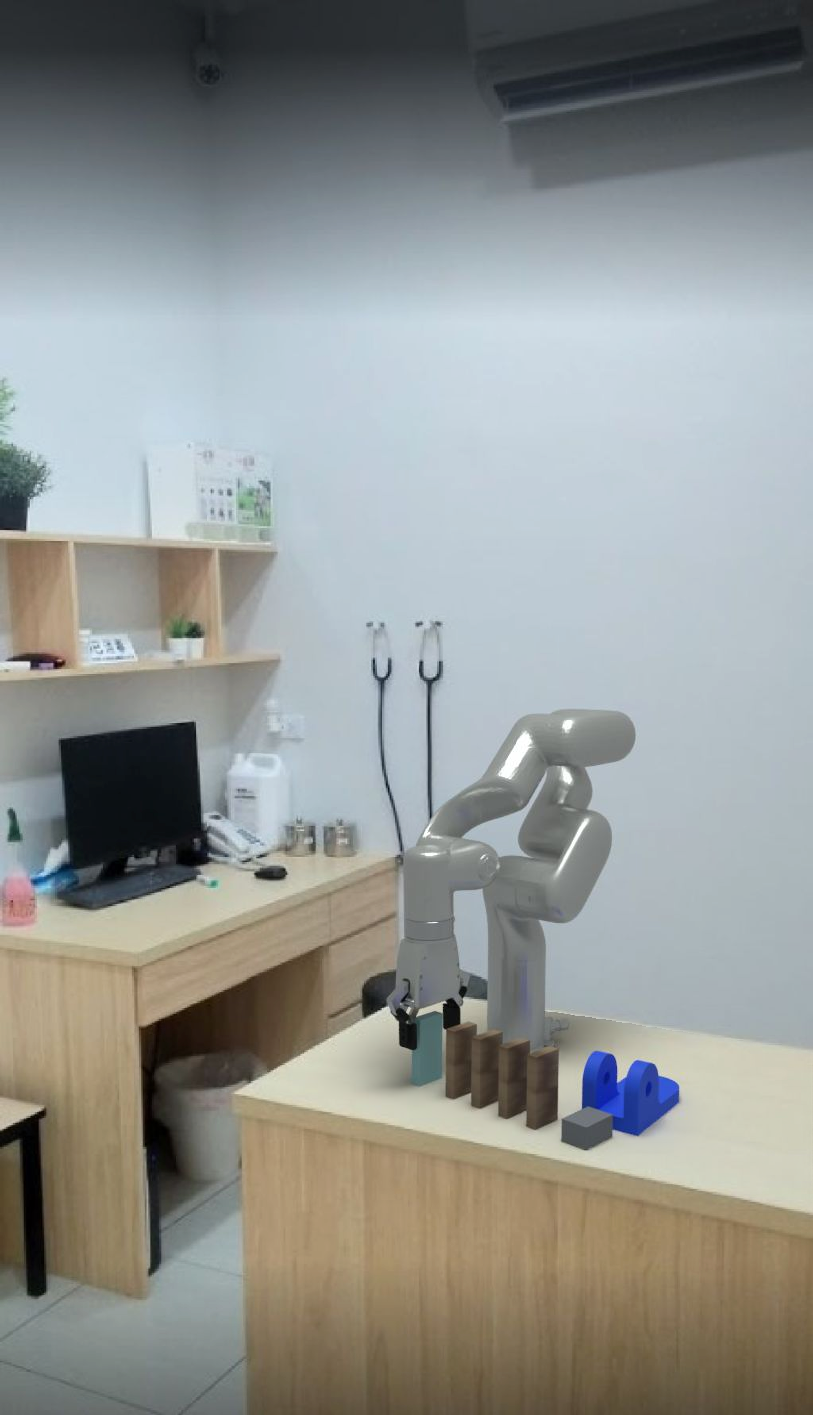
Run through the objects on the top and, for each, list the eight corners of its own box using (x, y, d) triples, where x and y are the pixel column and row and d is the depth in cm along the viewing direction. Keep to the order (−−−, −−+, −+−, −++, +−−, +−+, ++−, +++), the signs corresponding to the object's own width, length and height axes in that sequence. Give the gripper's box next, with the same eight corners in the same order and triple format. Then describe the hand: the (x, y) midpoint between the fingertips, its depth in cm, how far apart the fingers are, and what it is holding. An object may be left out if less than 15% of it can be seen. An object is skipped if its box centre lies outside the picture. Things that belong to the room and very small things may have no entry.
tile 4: (520, 1106, 164) (521, 1037, 163) (529, 1109, 162) (530, 1039, 162) (498, 1115, 160) (498, 1045, 160) (506, 1119, 159) (507, 1048, 158)
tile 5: (548, 1116, 160) (549, 1045, 160) (557, 1119, 159) (558, 1048, 158) (526, 1126, 156) (527, 1054, 156) (535, 1129, 155) (536, 1057, 155)
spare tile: (434, 1075, 175) (434, 1010, 175) (441, 1077, 174) (442, 1013, 174) (411, 1083, 172) (412, 1017, 171) (419, 1086, 171) (420, 1020, 170)
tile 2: (468, 1087, 170) (468, 1021, 170) (476, 1090, 169) (476, 1023, 169) (445, 1096, 167) (446, 1028, 166) (453, 1099, 166) (454, 1031, 165)
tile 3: (493, 1096, 167) (494, 1029, 167) (501, 1099, 166) (502, 1031, 165) (471, 1105, 163) (471, 1036, 163) (479, 1108, 162) (480, 1039, 162)
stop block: (587, 1127, 156) (588, 1106, 156) (612, 1136, 153) (612, 1114, 153) (561, 1140, 152) (561, 1118, 152) (586, 1149, 149) (586, 1127, 149)
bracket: (637, 1137, 154) (638, 1071, 153) (581, 1122, 158) (582, 1058, 158) (687, 1096, 168) (688, 1036, 168) (635, 1083, 173) (636, 1025, 173)
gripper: (448, 913, 181) (450, 1019, 182) (370, 935, 169) (372, 1048, 170) (485, 921, 176) (486, 1030, 177) (406, 944, 163) (408, 1061, 165)
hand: (430, 1039), depth 173 cm, fingers open, 9 cm apart
